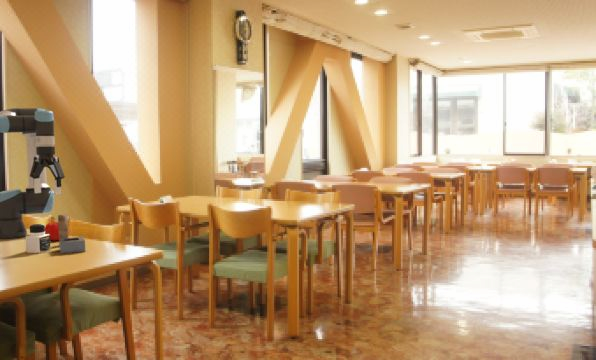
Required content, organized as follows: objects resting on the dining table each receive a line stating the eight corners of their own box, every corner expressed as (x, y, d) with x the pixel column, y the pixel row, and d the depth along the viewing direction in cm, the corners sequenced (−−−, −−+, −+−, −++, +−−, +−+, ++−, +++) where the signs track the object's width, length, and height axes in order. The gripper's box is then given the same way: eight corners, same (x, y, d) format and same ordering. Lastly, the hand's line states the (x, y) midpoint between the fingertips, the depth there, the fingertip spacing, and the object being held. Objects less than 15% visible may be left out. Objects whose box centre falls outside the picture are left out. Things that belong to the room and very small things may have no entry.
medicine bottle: (40, 253, 237) (39, 225, 236) (25, 252, 239) (24, 225, 238) (50, 250, 244) (49, 223, 243) (36, 249, 246) (35, 222, 245)
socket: (59, 249, 245) (59, 238, 244) (83, 247, 249) (83, 236, 248) (60, 254, 236) (59, 242, 235) (85, 251, 240) (84, 240, 239)
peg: (59, 244, 256) (57, 214, 254) (68, 244, 257) (67, 214, 256) (59, 246, 252) (58, 216, 251) (68, 245, 254) (67, 215, 252)
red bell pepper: (50, 238, 272) (49, 220, 272) (72, 238, 272) (71, 220, 271) (39, 242, 262) (39, 224, 261) (62, 242, 261) (61, 224, 261)
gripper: (19, 145, 245) (22, 193, 247) (57, 146, 233) (59, 196, 235) (34, 145, 251) (37, 191, 253) (71, 145, 240) (73, 194, 241)
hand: (47, 193), depth 244 cm, fingers open, 13 cm apart
